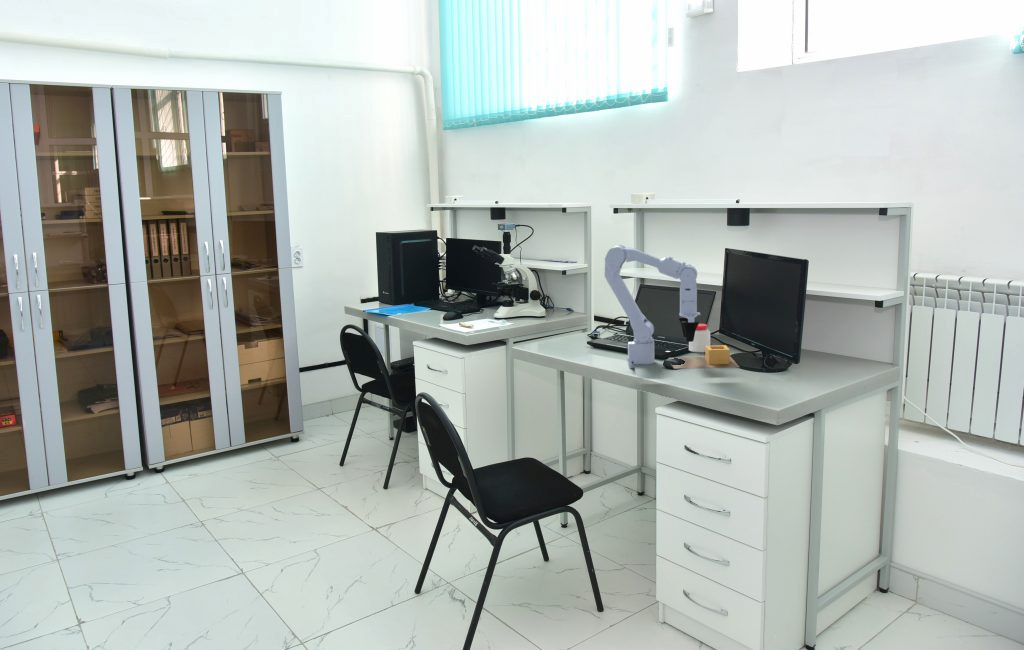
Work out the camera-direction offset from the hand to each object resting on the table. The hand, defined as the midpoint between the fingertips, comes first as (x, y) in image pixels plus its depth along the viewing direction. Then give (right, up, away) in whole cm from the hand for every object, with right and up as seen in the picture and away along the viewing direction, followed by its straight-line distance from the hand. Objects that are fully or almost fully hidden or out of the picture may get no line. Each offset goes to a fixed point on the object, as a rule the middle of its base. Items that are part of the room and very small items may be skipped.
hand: (688, 339), depth 264 cm
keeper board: (+5, -10, +1) cm, 11 cm away
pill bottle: (+9, -6, +21) cm, 23 cm away
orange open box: (+10, -8, +1) cm, 13 cm away
